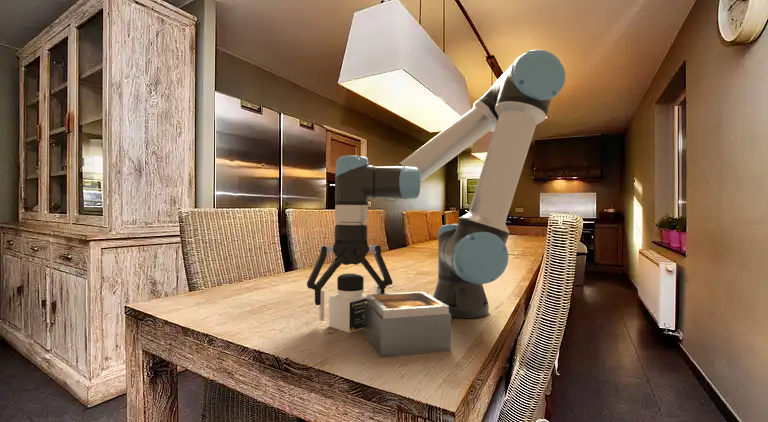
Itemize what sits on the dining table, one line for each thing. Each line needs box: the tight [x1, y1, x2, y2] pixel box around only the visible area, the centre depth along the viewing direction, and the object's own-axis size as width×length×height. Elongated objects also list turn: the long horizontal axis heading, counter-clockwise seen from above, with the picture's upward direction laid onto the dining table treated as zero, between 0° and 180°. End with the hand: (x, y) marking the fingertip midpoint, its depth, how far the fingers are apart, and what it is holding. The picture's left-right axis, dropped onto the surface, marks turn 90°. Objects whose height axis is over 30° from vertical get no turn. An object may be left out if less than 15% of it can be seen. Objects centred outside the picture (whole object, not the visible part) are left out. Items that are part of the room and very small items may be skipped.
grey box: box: [364, 291, 452, 358], centre depth 74 cm, size 14×13×8 cm
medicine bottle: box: [328, 272, 368, 334], centre depth 84 cm, size 7×7×12 cm
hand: (349, 317), depth 84 cm, fingers open, 12 cm apart
